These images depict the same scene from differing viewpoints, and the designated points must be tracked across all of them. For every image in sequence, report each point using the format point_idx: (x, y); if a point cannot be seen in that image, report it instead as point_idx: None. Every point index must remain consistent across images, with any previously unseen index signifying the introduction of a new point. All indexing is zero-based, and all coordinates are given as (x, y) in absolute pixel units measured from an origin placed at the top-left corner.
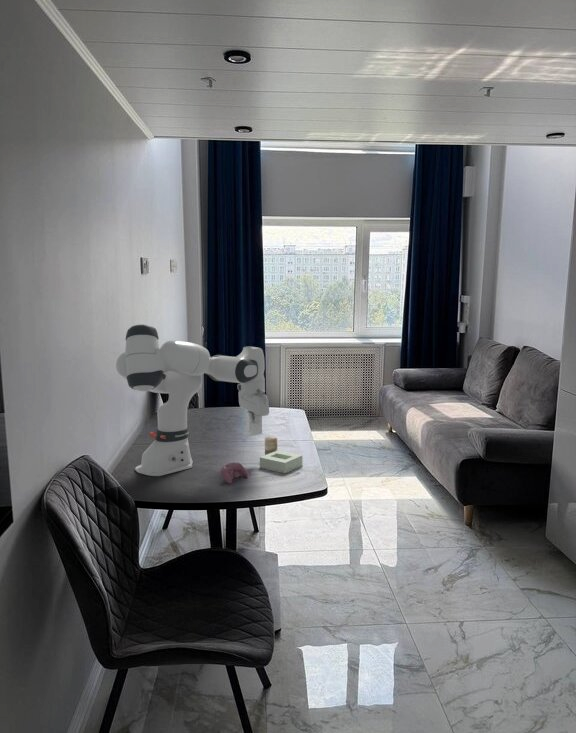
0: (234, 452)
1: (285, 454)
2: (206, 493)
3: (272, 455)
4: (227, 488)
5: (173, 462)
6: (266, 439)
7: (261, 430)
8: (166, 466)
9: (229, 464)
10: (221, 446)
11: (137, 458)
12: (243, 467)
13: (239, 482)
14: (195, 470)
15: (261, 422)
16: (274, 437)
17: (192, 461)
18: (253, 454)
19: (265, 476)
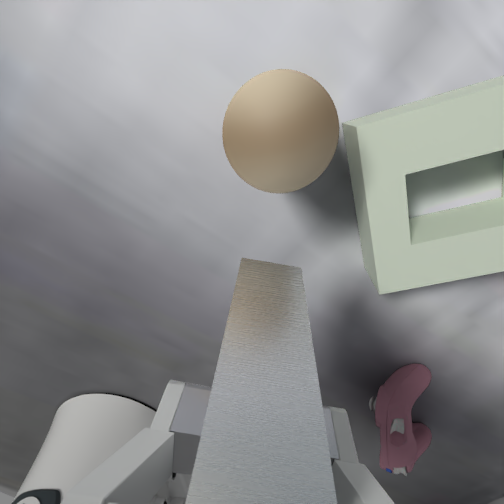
0: (78, 224)
1: (475, 144)
2: (421, 487)
3: (407, 218)
4: (442, 445)
5: (172, 486)
6: (280, 187)
7: (303, 293)
8: (180, 493)
9: (404, 466)
10: None
11: (12, 465)
12: (414, 398)
13: (434, 402)
14: None
15: (311, 353)
16: (275, 84)
17: (136, 405)
18: (161, 168)
19: (474, 314)
